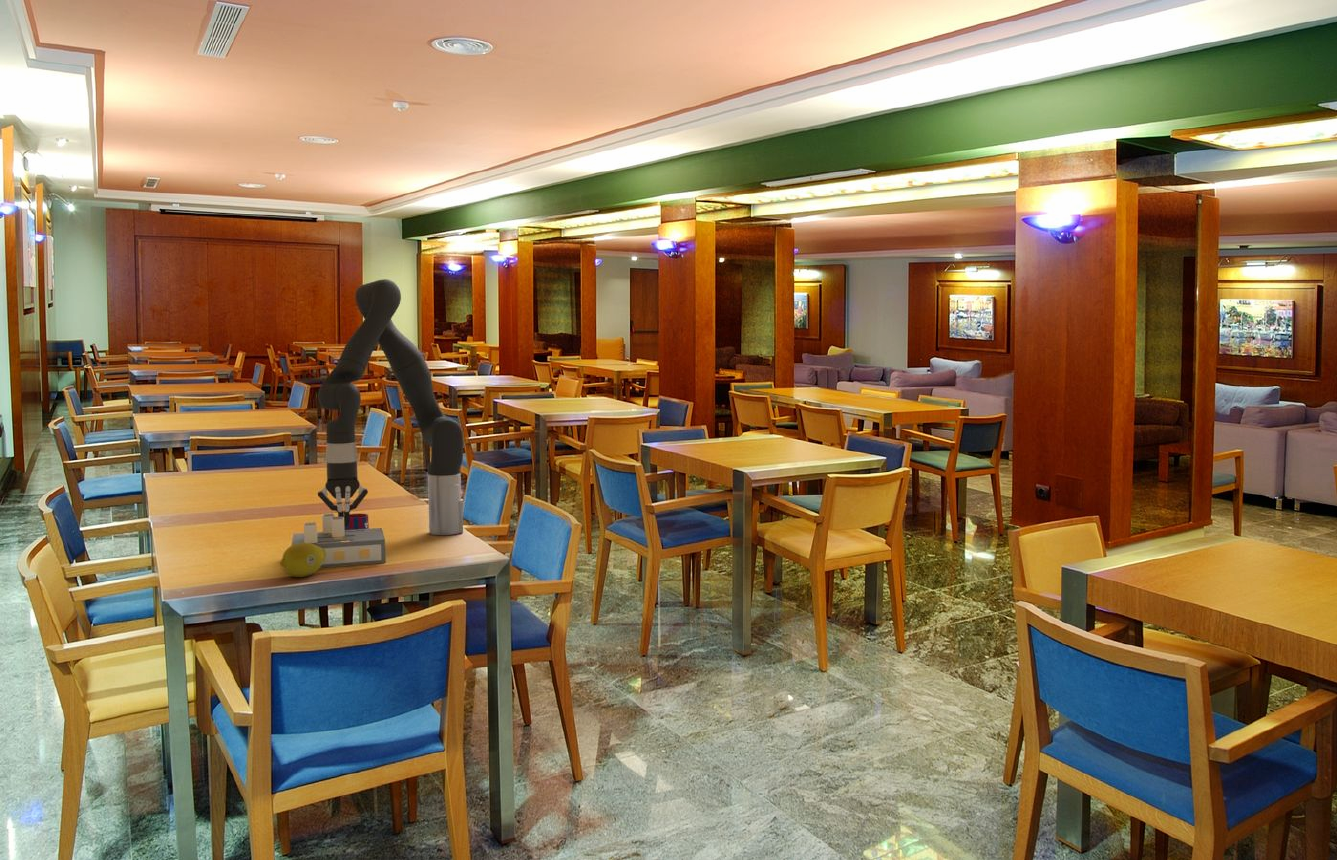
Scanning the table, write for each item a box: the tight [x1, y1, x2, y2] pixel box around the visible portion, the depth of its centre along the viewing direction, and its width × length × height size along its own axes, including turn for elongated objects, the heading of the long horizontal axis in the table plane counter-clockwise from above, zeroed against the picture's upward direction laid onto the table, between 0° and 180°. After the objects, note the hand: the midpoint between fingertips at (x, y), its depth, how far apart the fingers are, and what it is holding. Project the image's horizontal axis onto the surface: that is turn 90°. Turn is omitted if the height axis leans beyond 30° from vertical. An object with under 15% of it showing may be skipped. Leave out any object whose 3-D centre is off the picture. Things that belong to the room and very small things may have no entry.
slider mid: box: [332, 516, 345, 537], centre depth 249 cm, size 3×3×5 cm
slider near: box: [303, 521, 318, 543], centre depth 241 cm, size 3×3×5 cm
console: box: [290, 527, 387, 569], centre depth 249 cm, size 22×16×6 cm
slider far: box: [321, 512, 336, 534], centre depth 253 cm, size 3×3×5 cm
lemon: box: [279, 543, 326, 578], centre depth 233 cm, size 11×8×8 cm
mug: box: [344, 513, 370, 530], centre depth 273 cm, size 7×10×7 cm
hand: (344, 525), depth 254 cm, fingers closed
